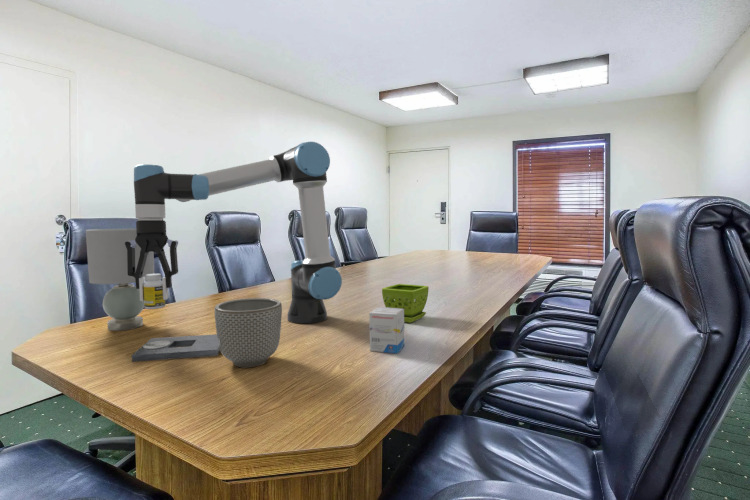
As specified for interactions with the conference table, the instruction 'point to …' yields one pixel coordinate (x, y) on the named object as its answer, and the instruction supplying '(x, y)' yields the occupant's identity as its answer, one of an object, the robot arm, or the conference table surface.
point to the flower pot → (406, 299)
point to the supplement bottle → (153, 292)
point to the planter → (248, 330)
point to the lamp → (117, 275)
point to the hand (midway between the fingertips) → (154, 299)
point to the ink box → (386, 329)
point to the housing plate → (178, 348)
